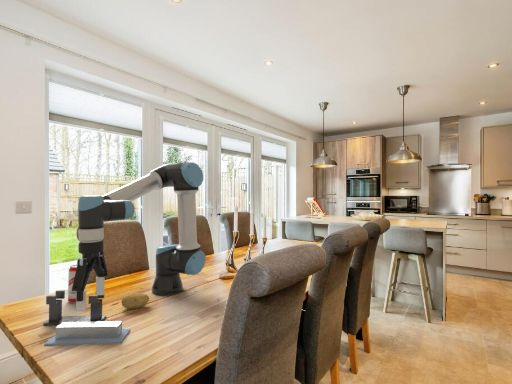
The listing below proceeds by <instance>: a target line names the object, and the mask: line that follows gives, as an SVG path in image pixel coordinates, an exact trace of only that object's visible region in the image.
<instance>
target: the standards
mask: <svg viewBox="0 0 512 384" xmlns="http://www.w3.org/2000/svg"><path fill="white" fill-rule="evenodd" d="M65 295H66V290H62V289H59V290H55V295H46V297H45V298H46V299H45V300H46V301H45V304H46V305H48V319H47V320H45V321H44V322H43V324H42V325H43V326H44V327H47V326H49V327H51V326H55V327H57V326H58V325H60V324H61V323H62V322H99V321H106V319H107V315H103V299H104V298H105V294H104V295H96V294H90V295H88V305H90V315H66V316H65V315H63V299H65V298H66V297H65Z"/></svg>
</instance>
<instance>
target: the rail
mask: <svg viewBox="0 0 512 384" xmlns="http://www.w3.org/2000/svg"><path fill="white" fill-rule="evenodd" d="M122 329H123V320H115V321H114V320H112V321H111V320H109V321H107V320H104V321H99V322H62V323H61V324H60V325H58V326H55V332H54V333H55V334H54V335H55V340H57V339H97V338H118V337H119V336H120V334H121V333H122Z"/></svg>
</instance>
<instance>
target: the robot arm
mask: <svg viewBox="0 0 512 384" xmlns="http://www.w3.org/2000/svg"><path fill="white" fill-rule="evenodd" d="M203 181H204V172H203V170H202V168H201V167H200V165H198V164H197V163H195V162H193V161H192V162H190V161H189V162H188V161H186V162H170V163H167V164H163V165H161V166H158V167H157V168H154V169H153V170H150V171H148V172H147V174H146V175H144V176H142V177H140V178H137V179H136V180H133V181H131V182H130V183H126V184H125V185H123V186H121V187H118V188H116V189H114V190H111V191H110V192H109V191H108V193H105V194H102V195H81V196H80V197H79V198H78V205H77V212H78V216H77V217H78V219H77V220H78V221H77V222H78V223H77V224H78V230H77V234H78V241H79V242H78V253H79V254H81V255H83V256H82V258H78V259H77V260H76V261H77V262H76V265H77V269H76V273H75V278H74V282H73V287H72V291H76V303H75V304H76V312H85V311H87V289H86V286H87V284H88V280H89V277H90V274H91V272H92V271H93V270H94V272H95V274H96V277H95V295H104V296H105V293H106V292H105V287H106V286H105V284H106V283H105V282H106V281H105V277H108V269H107V263H106V260H105V259H106V258H105V255H104V254H105V253H104V249H105V247H104V244H105V243H104V240H103V239H104V238H105V235H104V234H105V231H104V229H105V228H104V224H105V222H106V223H107V222H117V221H126V220H130V219H132V218H133V217H134V214H135V204H134V203H133V201H135V200H137V199H139V198H141V197H143V196H145V195H146V194H149V193H151V192H153V191H155V190H156V191H159V190H161V189H164V188H170V187H173V192H174V193H175V194H177V195H176V196H177V197H176V198H177V224H178V226H177V227H178V244H177V243H176V244H166V245H161V246H157V248H156V250H155V278H154V280H153V283H152V286H151V293H152V294H154V295H156V296H171V295H176V294H179V293H181V292H182V291H183V290H184V286H183V281H182V279H181V275H180V274H183V275H187V276H190V275H191V276H196V275H198V274H200V273H201V272H202V271H203V269H204V267H205V264H206V260H207V258H206V257H207V256H206V253H205V252H203V250H201V244H199V242H198V235H197V234H198V233H197V202H196V200H197V199H196V194H197V192H199V187H201V186H202V184H203Z"/></svg>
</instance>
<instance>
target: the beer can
mask: <svg viewBox="0 0 512 384" xmlns="http://www.w3.org/2000/svg"><path fill="white" fill-rule="evenodd" d="M76 269H77V264H72V265H70V266H69V269H68V277H67V278H68V282H67V283H68V284H67V286H68V290H67V302H69V303H70V304H76V291H72V287H73V282H74V278H75V273H76Z"/></svg>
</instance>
